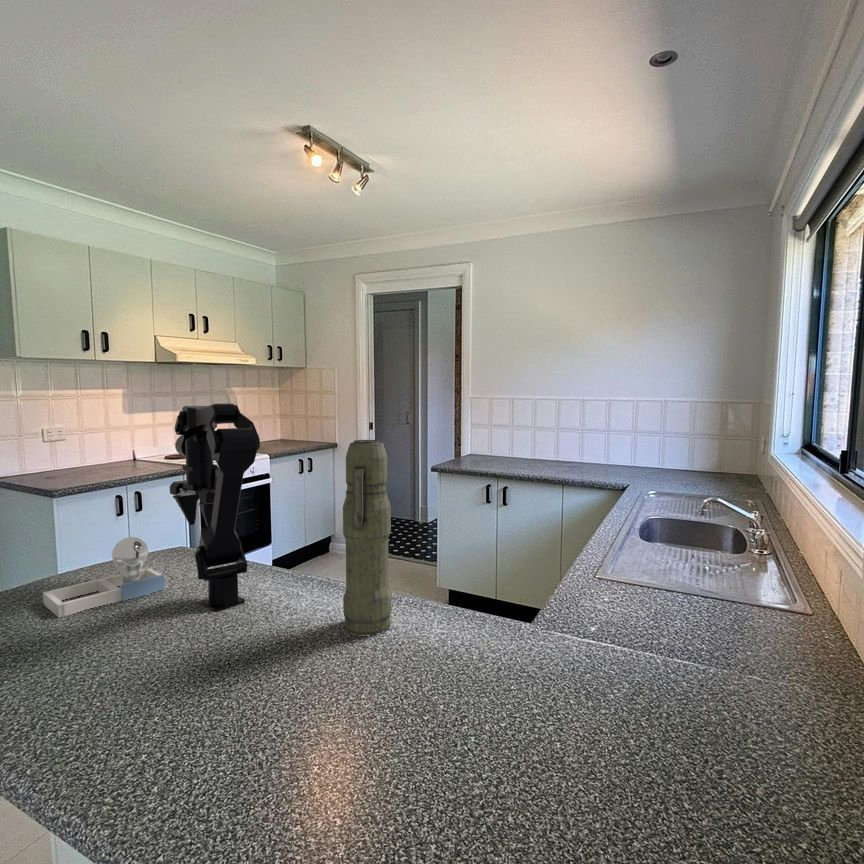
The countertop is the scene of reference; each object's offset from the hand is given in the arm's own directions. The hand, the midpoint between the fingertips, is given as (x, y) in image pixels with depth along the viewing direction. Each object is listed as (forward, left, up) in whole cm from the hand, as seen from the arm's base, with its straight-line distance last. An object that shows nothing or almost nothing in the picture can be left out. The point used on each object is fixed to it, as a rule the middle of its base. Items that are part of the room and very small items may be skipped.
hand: (201, 527), depth 119 cm
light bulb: (+8, +13, -13) cm, 20 cm away
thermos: (-46, -9, -13) cm, 49 cm away
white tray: (+8, +17, -13) cm, 23 cm away
